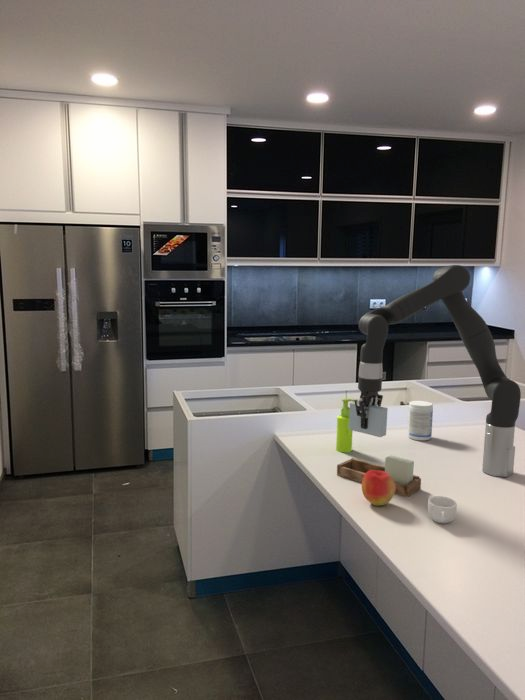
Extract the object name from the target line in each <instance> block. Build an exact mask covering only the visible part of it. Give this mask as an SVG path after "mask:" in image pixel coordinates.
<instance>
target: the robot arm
mask: <svg viewBox="0 0 525 700" xmlns="http://www.w3.org/2000/svg"><path fill="white" fill-rule="evenodd" d="M470 282H471V274H470V271H469V270H468V269H467V268H466V267H465V266H463V265H460V264H452V265H448V266H444V267H440V268H438V269H436V270H435V272H434V273H433V276H432V281H431V282H430V283H428V284H426V285H424V286H422V287H419V288H417V289H415V290H412V291H409V292H408V293H406V294H404V295H401V296H400V297H398V298H397V299H394V300H393V301H391V302H389V303H388V304H386V305H384V306H381V307H379V308H376V309H373V310H371V311H368V312H366V313H365V314H364V315H362V316H361V318H360V319H359V321H358V329H359V331H360V332H361V333H362V334H364V335H366V342H365V343H363V344H362V345H361V347H360V354H359V355H360V356H359V360H360V361H359V366H358V367H359V368H358V377H357V379H358V380H357V381H358V383H357V389H358V390H359V391H360V394H359V399H354V400H355V407H356V412H357V416H360V417H361V428H363V429H367V428H368V414H369V411H370V407H371V406H373V405H374V406H380V407H382V402H383V399H384V398H383V397H384V395H382V394H379V392H381V391H382V388H383V387H382V384H383V354H384V352H383V351H384V347H385V345H386V344H385V343H386V340H387V337H388V333H389V325H396V324H399V323H402V322H403V321H404V320H407V319H408V318H410V317H412V316H413V315H415V314H417V313H418V312H420V311H421V310H424V309H425V308H427V307H428V306H431V305H432V304H435V303H436V302H439V301H440V300H441V301H442V302H443V304H444V306H445V308H446V310H447V311H448V312H449V315H450V317H451V320H452V322H453V323H454V325H455V328H456V330H457V332H458V334H459V337H460V338H461V341H462V343H463V346H464V347H465V349H466V350H467V354H469V357H470V359H471V360H472V363H473V364H474V366H475V367H476V370H477V372H478V374H479V377H480V380H481V382H482V383H481V384H482V386H483V390H484V391H485V394H486V397H488V399H489V400H491V407H490V409H491V410H490V412H489V413H487V414H486V417H485V428H484V441H483V442H484V443H483V455H482V469H481V470H482V472H483V473H485V474H487V475H490V476H494V477H500V478H501V477H502V478H509V477H510V476H511V475H512V474H514V466H515V456H516V455H515V454H516V446H514V442H515V431H516V430H515V429H516V421H517V420H518V418H519V413H520V406H521V399H522V397H521V395H522V394H521V393H522V392H521V388H520V386H519V384H518V383H517V382H515V381H514V380H512V379H510V378H508V377H507V375H506V374H505V373H504V371H503V369H502V367H501V366H500V364H499V362H498V357H497V350H496V345H495V344H496V343H495V341H494V338H493V334H492V333H491V330H490V329H489V326H488V324H487V322H486V321H485V320H484V318H483V317H482V316H481V314H480V313H478V312H477V311H476V310H475V309H474V308H473V307H472V306H471V305H470V303H469V302H468V300H467V299H466V298H465V295H464V293H463V291H465V289H467V288H468V287H469V285H470ZM364 406H365V407H368V408H364ZM365 410H366V413H365Z"/></svg>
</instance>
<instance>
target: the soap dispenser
mask: <svg viewBox="0 0 525 700" xmlns="http://www.w3.org/2000/svg"><path fill="white" fill-rule="evenodd" d="M355 400H356V399H354V398H341V401H342V402H343V406H342V407H341V408H340V415H337V418H336V419H337V420H336V422H337V423H336V444H335V445H336V448H335V451H337V452H339V453H351V452H352V449H353V446H352V445H353V430H349V413H350V406H349V402H351V403H352V402H355Z"/></svg>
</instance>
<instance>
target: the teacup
mask: <svg viewBox="0 0 525 700" xmlns="http://www.w3.org/2000/svg"><path fill="white" fill-rule="evenodd" d="M427 513H428V516H429V518H430V519H431V520H432V521H433V522H435V523H438V524H448V523H451V522H452V521H453V520H454V519H455V517H456V513H457V502H456V500H454V499H452V498H450V497H447V496H443V495H442V496H441V495H436V496H431V497H429V498H428V500H427Z"/></svg>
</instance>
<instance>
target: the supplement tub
mask: <svg viewBox="0 0 525 700" xmlns="http://www.w3.org/2000/svg"><path fill="white" fill-rule="evenodd" d="M433 413H434V407H433V403H432V402H429V401H425V400H411V401H409V405H408V415H407V416H408V417H407V418H408V420H407V437H408V438H409V439H411V440H414V441H419V442H420V441H429V440H431V439H432V435H433V432H432V431H433Z"/></svg>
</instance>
